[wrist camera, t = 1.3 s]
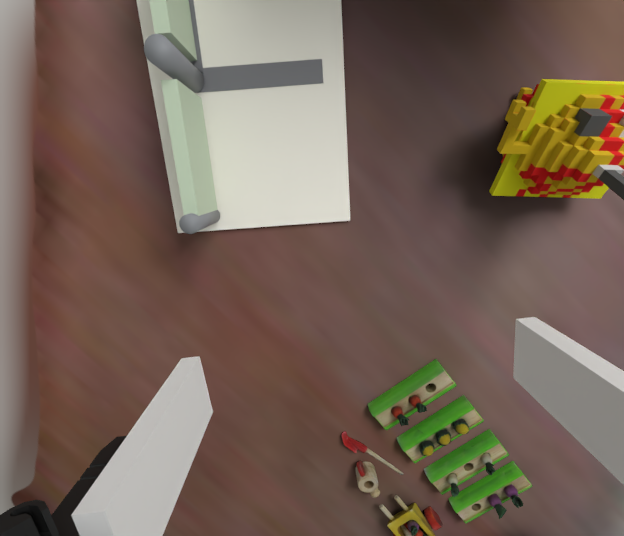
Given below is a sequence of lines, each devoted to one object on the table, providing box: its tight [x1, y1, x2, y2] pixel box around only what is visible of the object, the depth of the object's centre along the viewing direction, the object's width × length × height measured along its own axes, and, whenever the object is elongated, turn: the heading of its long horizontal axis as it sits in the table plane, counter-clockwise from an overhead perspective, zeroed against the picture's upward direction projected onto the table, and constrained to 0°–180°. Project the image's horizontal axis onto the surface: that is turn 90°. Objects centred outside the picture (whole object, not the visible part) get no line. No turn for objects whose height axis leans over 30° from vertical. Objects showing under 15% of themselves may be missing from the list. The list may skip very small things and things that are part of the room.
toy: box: [489, 79, 624, 200], centre depth 27 cm, size 14×10×15 cm
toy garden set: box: [341, 359, 532, 536], centre depth 41 cm, size 23×19×5 cm
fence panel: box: [161, 79, 220, 234], centre depth 29 cm, size 12×2×7 cm, turn 4°
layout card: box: [136, 0, 350, 233], centre depth 31 cm, size 24×18×1 cm
